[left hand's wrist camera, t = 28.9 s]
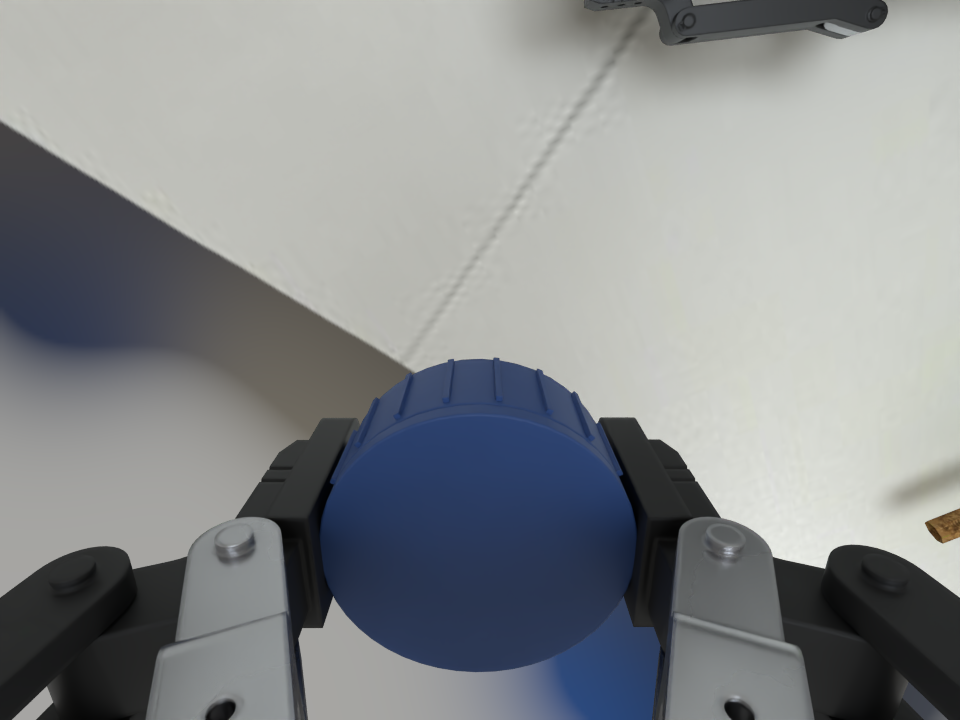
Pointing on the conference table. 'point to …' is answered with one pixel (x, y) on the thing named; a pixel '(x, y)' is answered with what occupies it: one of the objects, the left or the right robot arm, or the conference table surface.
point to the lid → (478, 519)
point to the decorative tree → (945, 526)
